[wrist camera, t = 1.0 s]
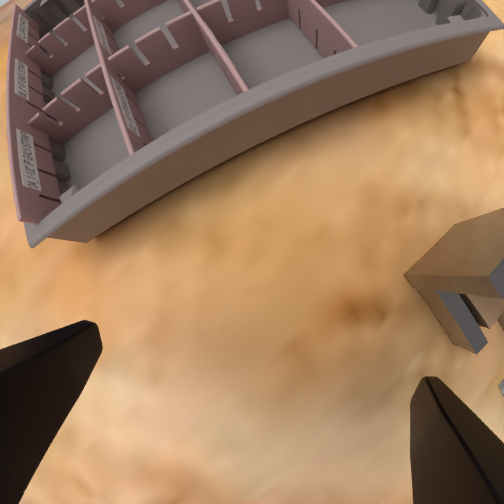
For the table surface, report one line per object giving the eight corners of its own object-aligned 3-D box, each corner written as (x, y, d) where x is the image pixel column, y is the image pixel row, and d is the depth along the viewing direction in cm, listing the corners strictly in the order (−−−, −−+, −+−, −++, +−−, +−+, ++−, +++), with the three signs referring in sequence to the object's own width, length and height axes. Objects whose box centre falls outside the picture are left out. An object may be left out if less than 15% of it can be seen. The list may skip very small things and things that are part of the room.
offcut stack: (464, 326, 21) (489, 335, 17) (432, 278, 22) (454, 279, 18) (484, 305, 21) (510, 310, 17) (453, 257, 21) (478, 254, 18)
